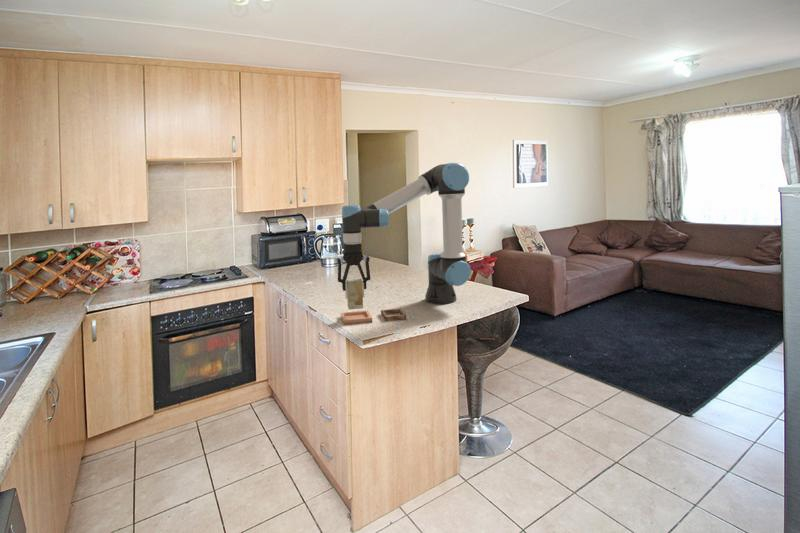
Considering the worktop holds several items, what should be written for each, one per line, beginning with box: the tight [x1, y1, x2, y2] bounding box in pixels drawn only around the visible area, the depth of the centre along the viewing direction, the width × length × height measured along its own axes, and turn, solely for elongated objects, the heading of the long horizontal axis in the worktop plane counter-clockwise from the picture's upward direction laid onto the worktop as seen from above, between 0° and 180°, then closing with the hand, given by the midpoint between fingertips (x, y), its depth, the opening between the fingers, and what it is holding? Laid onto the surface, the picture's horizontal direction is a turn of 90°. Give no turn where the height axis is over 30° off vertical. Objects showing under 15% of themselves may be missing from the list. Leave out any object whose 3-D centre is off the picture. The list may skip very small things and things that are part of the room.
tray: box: [340, 310, 373, 326], centre depth 185 cm, size 12×12×2 cm
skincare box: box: [346, 278, 364, 311], centre depth 183 cm, size 6×4×12 cm
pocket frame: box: [380, 308, 408, 322], centre depth 187 cm, size 9×11×2 cm
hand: (354, 297), depth 183 cm, fingers closed on skincare box, 6 cm apart
